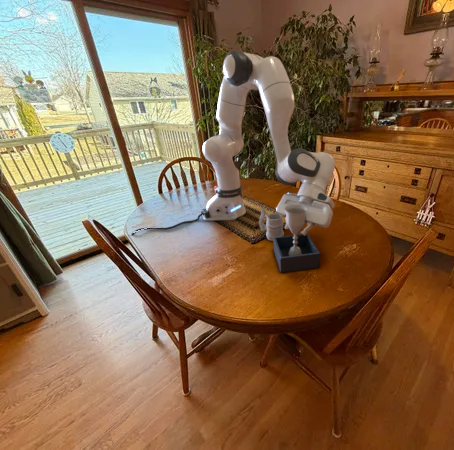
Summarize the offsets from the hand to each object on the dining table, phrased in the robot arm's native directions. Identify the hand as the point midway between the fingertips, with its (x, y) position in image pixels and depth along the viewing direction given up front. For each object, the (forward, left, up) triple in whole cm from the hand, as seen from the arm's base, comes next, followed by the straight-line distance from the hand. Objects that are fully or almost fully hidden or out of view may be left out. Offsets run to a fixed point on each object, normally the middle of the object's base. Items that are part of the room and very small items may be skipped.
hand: (294, 232), depth 81 cm
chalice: (0, 0, -10) cm, 10 cm away
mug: (-6, +18, -12) cm, 23 cm away
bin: (0, 0, -12) cm, 12 cm away
